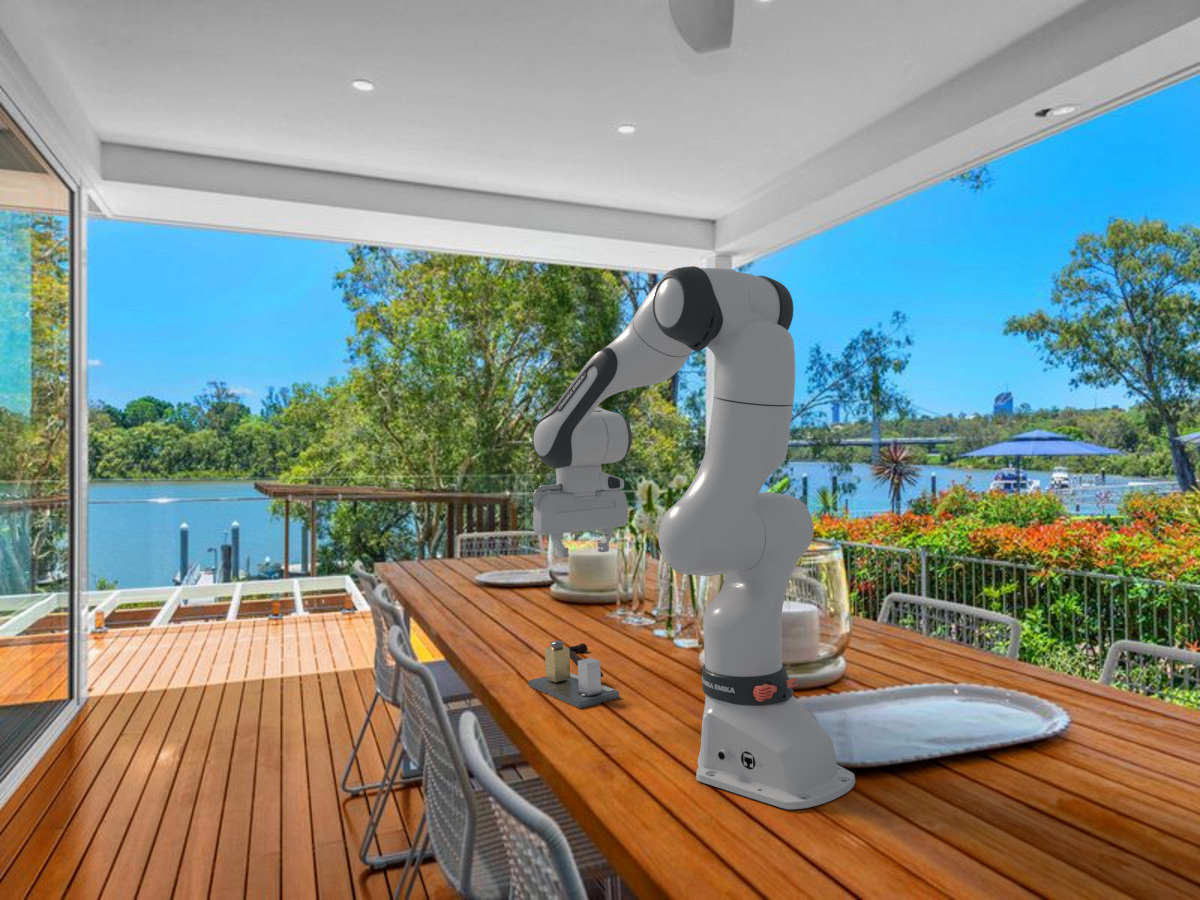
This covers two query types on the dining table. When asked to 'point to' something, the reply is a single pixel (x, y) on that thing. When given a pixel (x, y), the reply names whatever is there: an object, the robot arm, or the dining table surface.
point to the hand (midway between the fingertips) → (583, 554)
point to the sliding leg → (557, 662)
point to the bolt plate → (570, 692)
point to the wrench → (578, 648)
